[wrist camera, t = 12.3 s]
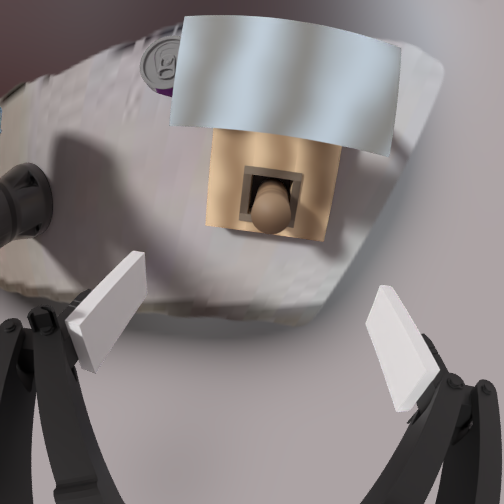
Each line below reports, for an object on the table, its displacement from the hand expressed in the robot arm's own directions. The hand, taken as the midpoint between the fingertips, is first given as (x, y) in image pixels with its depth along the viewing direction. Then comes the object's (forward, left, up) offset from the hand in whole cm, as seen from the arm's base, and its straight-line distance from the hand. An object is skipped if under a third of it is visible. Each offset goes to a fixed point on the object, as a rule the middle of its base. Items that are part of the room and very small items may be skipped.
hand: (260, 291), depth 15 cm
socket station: (0, +6, -26) cm, 27 cm away
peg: (0, 0, -26) cm, 27 cm away
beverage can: (-12, +15, -27) cm, 33 cm away
